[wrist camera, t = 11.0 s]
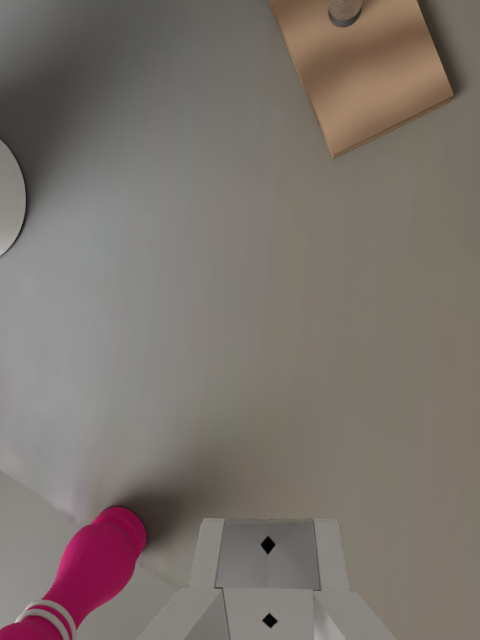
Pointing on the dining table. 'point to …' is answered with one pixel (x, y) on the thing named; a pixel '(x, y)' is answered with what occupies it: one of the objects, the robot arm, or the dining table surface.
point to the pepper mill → (84, 577)
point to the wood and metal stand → (363, 67)
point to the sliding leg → (344, 8)
